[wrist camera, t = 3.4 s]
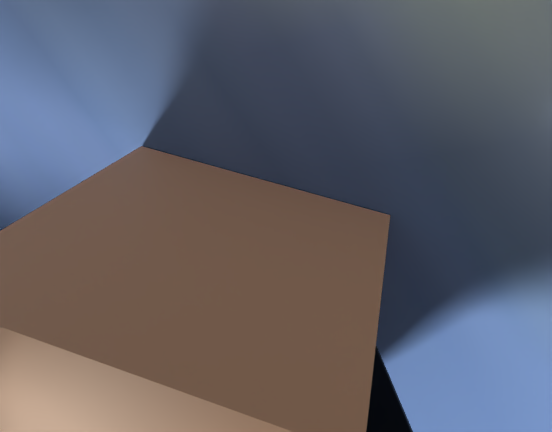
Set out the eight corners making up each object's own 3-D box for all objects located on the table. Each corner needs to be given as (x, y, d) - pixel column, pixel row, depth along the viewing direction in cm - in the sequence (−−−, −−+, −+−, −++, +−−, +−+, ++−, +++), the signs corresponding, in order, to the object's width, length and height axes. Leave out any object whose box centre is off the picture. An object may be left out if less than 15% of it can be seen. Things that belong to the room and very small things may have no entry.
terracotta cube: (390, 215, 8) (362, 456, 4) (328, 398, 11) (270, 671, 7) (141, 145, 9) (-101, 290, 5) (135, 331, 12) (-31, 538, 7)
